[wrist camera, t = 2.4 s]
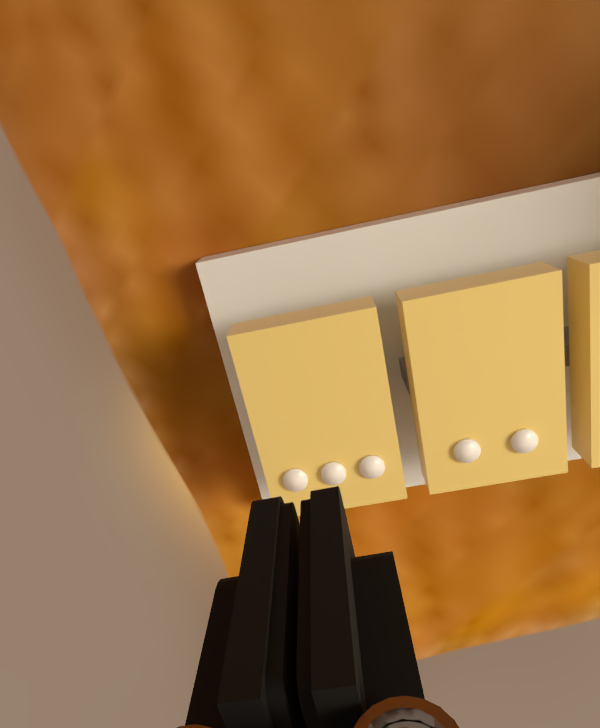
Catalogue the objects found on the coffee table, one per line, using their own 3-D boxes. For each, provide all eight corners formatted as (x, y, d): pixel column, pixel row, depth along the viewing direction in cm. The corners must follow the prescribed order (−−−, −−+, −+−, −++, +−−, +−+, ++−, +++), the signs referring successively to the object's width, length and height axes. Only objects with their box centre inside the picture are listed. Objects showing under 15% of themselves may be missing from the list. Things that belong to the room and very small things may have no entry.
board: (202, 257, 25) (184, 272, 22) (694, 152, 23) (764, 149, 19) (267, 493, 30) (262, 537, 26) (678, 424, 28) (731, 461, 24)
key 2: (394, 290, 21) (402, 303, 20) (541, 261, 21) (564, 271, 19) (421, 472, 25) (430, 497, 23) (549, 450, 24) (570, 474, 22)
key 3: (232, 323, 22) (225, 338, 20) (371, 295, 21) (376, 308, 20) (279, 495, 25) (276, 522, 23) (400, 475, 25) (408, 501, 23)
